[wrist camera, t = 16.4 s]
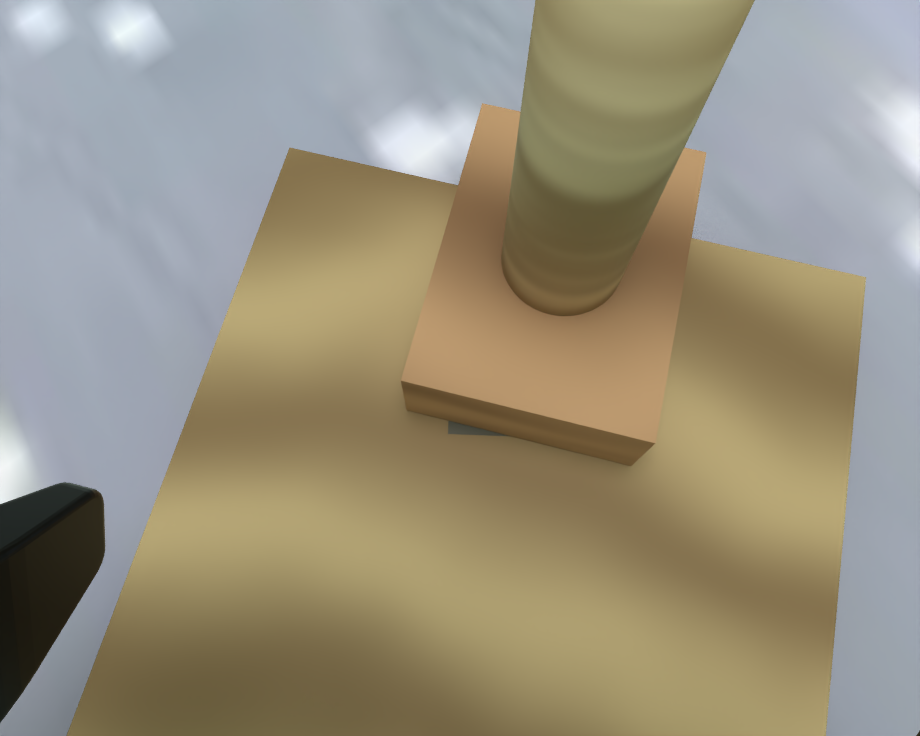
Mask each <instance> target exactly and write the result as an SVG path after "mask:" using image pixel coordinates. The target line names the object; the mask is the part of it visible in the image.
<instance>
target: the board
mask: <svg viewBox="0 0 920 736" xmlns="http://www.w3.org/2000/svg"><path fill="white" fill-rule="evenodd" d="M457 188H458V185H454V184H449V183H445V182H440V181H436V180H431V179H427V178H422V177H418V176H414V175H409V174H405V173H400V172H396V171H391V170H387V169H382V168H378V167H374V166H369V165H365V164H360V163H356V162H351V161H347V160H343V159H338V158H334V157H329V156H325V155H320V154H316V153H311V152H307V151H303V150H298V149H294V148H289V151H288V153H287V156H286V159H285V161H284V164H283V166H282V169H281V172H280V174H279V177H278V180H277V182H276V185H275V188H274V190H273V193H272V195H271V198H270V201H269V203H268V206H267V209H266V211H265V214H264V217H263V219H262V222H261V224H260V227H259V230H258V232H257V235H256V238H255V240H254V243H253V246H252V248H251V251H250V253H249V256H248V259H247V261H246V264H245V267H244V269H243V272H242V275H241V277H240V280H239V282H238V285H237V288H236V290H235V293H234V296H233V298H232V301H231V304H230V306H229V309H228V311H227V314H226V317H225V319H224V322H223V325H222V327H221V330H220V333H219V335H218V338H217V340H216V343H215V346H214V348H213V351H212V354H211V356H210V359H209V362H208V364H207V367H206V369H205V372H204V375H203V377H202V380H201V383H200V385H199V388H198V391H197V393H196V396H195V398H194V401H193V404H192V406H191V409H190V412H189V414H188V417H187V420H186V422H185V425H184V427H183V430H182V433H181V435H180V438H179V441H178V443H177V446H176V449H175V451H174V454H173V456H172V459H171V462H170V464H169V467H168V470H167V472H166V475H165V478H164V480H163V483H162V485H161V488H160V491H159V493H158V496H157V499H156V501H155V504H154V507H153V509H152V512H151V514H150V517H149V520H148V522H147V525H146V528H145V530H144V533H143V536H142V538H141V541H140V543H139V546H138V549H137V551H136V554H135V557H134V559H133V562H132V565H131V567H130V570H129V572H128V575H127V578H126V580H125V583H124V586H123V588H122V591H121V594H120V596H119V599H118V601H117V604H116V607H115V609H114V612H113V615H112V617H111V620H110V623H109V625H108V628H107V630H106V633H105V636H104V638H103V641H102V644H101V646H100V649H99V652H98V654H97V657H96V659H95V662H94V665H93V667H92V670H91V673H90V675H89V678H88V681H87V683H86V686H85V688H84V691H83V694H82V696H81V699H80V702H79V704H78V707H77V710H76V712H75V715H74V717H73V720H72V723H71V725H70V728H69V731H68V733H67V736H826V726H827V714H828V703H829V692H830V680H831V669H832V658H833V646H834V635H835V623H836V612H837V601H838V589H839V578H840V567H841V555H842V544H843V532H844V521H845V510H846V498H847V487H848V476H849V464H850V453H851V441H852V430H853V419H854V407H855V396H856V385H857V373H858V362H859V350H860V339H861V328H862V316H863V305H864V294H865V282H866V277H862V276H858V275H853V274H849V273H844V272H840V271H835V270H831V269H826V268H822V267H818V266H813V265H809V264H804V263H800V262H795V261H791V260H787V259H782V258H778V257H773V256H769V255H764V254H760V253H755V252H751V251H747V250H742V249H738V248H733V247H729V246H724V245H720V244H715V243H711V242H707V241H702V240H698V239H693V238H691V243H690V249H689V255H688V261H687V266H686V272H685V278H684V283H683V289H682V295H681V301H680V306H679V312H678V318H677V323H676V329H675V335H674V341H673V346H672V352H671V358H670V364H669V369H668V375H667V381H666V386H665V392H664V398H663V404H662V409H661V415H660V421H659V426H658V432H657V438H656V443H655V444H654V445H653V446H652V447H651V448H650V449H649V450H648V451H647V452H646V453H645V454H644V455H643V456H642V457H640V458H639V459H638V460H637V461H636V462H635V463H634V464H633V465H632V466H628V465H624V464H620V463H616V462H612V461H608V460H604V459H600V458H596V457H592V456H588V455H584V454H580V453H576V452H572V451H568V450H564V449H560V448H556V447H552V446H548V445H544V444H540V443H536V442H532V441H528V440H524V439H520V438H516V437H512V436H508V435H504V434H500V433H496V432H492V431H488V430H484V429H480V428H476V427H472V426H468V425H464V424H460V423H456V422H452V421H448V420H444V419H440V418H436V417H432V416H428V415H424V414H420V413H416V412H412V411H408V410H406V405H405V400H404V395H403V389H402V384H401V378H402V375H403V371H404V368H405V364H406V361H407V358H408V354H409V351H410V347H411V344H412V341H413V337H414V334H415V331H416V327H417V324H418V320H419V317H420V314H421V310H422V307H423V303H424V300H425V297H426V293H427V290H428V286H429V283H430V280H431V276H432V273H433V269H434V266H435V263H436V259H437V256H438V252H439V249H440V246H441V242H442V239H443V235H444V232H445V229H446V225H447V222H448V218H449V215H450V212H451V208H452V205H453V201H454V198H455V195H456V191H457Z"/></svg>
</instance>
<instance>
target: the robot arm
mask: <svg viewBox="0 0 920 736" xmlns="http://www.w3.org/2000/svg"><path fill="white" fill-rule="evenodd" d="M104 553H105V526H104V502H103V497H102V495H101V494H100V492H98V491H97V490H95V489H92V488H88V487H84V486H80V485H76V484H73V483H66V482H64V483H59V484H55V485H53V486H50V487H47V488H44V489H41V490H39V491H36V492H33V493H30V494H28V495H25V496H22V497H19V498H16V499H14V500H11V501H8V502H5V503H3V504H0V722H1V721H2V720H3V718H4V717H5V716H6V715H7V713H8V712H9V710H10V709H11V708H12V706H13V705H14V704H15V702H16V701H17V699H18V698H19V697H20V695H21V694H22V693H23V691H24V690H25V688H26V686H27V685H28V683H29V682H30V680H31V679H32V677H33V676H34V674H35V673H36V671H37V669H38V668H39V666H40V665H41V663H42V661H43V660H44V658H45V656H46V655H47V653H48V652H49V650H50V648H51V647H52V645H53V643H54V642H55V640H56V639H57V637H58V635H59V634H60V632H61V630H62V629H63V627H64V626H65V624H66V622H67V621H68V619H69V617H70V616H71V614H72V613H73V611H74V609H75V608H76V606H77V604H78V603H79V601H80V600H81V598H82V596H83V595H84V593H85V591H86V590H87V588H88V587H89V585H90V583H91V582H92V580H93V578H94V577H95V575H96V574H97V572H98V570H99V568H100V566H101V564H102V561H103V558H104ZM917 736H920V731H919V733H918V734H917Z"/></svg>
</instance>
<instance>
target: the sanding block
mask: <svg viewBox="0 0 920 736" xmlns="http://www.w3.org/2000/svg"><path fill="white" fill-rule="evenodd" d="M754 1H755V0H536V1H535V8H534V15H533V23H532V30H531V38H530V45H529V53H528V60H527V68H526V75H525V83H524V90H523V98H522V105H521V112H519V111H515V110H510V109H506V108H501V107H496V106H492V105H487V104H483V103H482V106H481V110H480V113H479V117H478V120H477V123H476V127H475V130H474V134H473V137H472V140H471V144H470V147H469V151H468V154H467V157H466V161H465V164H464V168H463V171H462V174H461V178H460V181H459V185H458V188H457V191H456V195H455V198H454V201H453V205H452V208H451V212H450V215H449V218H448V222H447V225H446V229H445V232H444V235H443V239H442V242H441V246H440V249H439V252H438V256H437V259H436V263H435V266H434V269H433V273H432V276H431V280H430V283H429V286H428V290H427V293H426V297H425V300H424V303H423V307H422V310H421V314H420V317H419V320H418V324H417V327H416V331H415V334H414V337H413V341H412V344H411V347H410V351H409V354H408V358H407V361H406V364H405V368H404V371H403V375H402V378H401V384H402V389H403V395H404V400H405V405H406V410H408V411H412V412H416V413H420V414H424V415H428V416H432V417H436V418H440V419H444V420H448V421H452V422H456V423H460V424H464V425H468V426H472V427H476V428H480V429H484V430H488V431H492V432H496V433H500V434H504V435H508V436H512V437H516V438H520V439H524V440H528V441H532V442H536V443H540V444H544V445H548V446H552V447H556V448H560V449H564V450H568V451H572V452H576V453H580V454H584V455H588V456H592V457H596V458H600V459H604V460H608V461H612V462H616V463H620V464H624V465H628V466H632V465H633V464H634V463H635V462H636V461H637V460H638V459H639V458H640V457H642V456H643V455H644V454H645V453H646V452H647V451H648V450H649V449H650V448H651V447H652V446H653V445H654V444H655V443H656V438H657V432H658V426H659V421H660V415H661V409H662V404H663V398H664V392H665V386H666V381H667V375H668V369H669V364H670V358H671V352H672V346H673V341H674V335H675V329H676V323H677V318H678V312H679V306H680V301H681V295H682V289H683V283H684V278H685V272H686V266H687V261H688V255H689V249H690V243H691V238H692V232H693V226H694V220H695V215H696V209H697V203H698V198H699V192H700V186H701V180H702V175H703V169H704V163H705V157H706V152H702V151H697V150H693V149H688V148H684V147H685V145H686V143H687V141H688V138H689V136H690V134H691V132H692V130H693V128H694V126H695V124H696V122H697V120H698V118H699V115H700V113H701V111H702V109H703V107H704V105H705V103H706V101H707V99H708V97H709V95H710V92H711V90H712V88H713V86H714V84H715V82H716V80H717V78H718V76H719V74H720V72H721V69H722V67H723V65H724V63H725V61H726V59H727V57H728V55H729V53H730V51H731V49H732V47H733V44H734V42H735V40H736V38H737V36H738V34H739V32H740V30H741V28H742V26H743V24H744V21H745V19H746V17H747V15H748V13H749V11H750V9H751V7H752V5H753V3H754Z"/></svg>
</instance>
